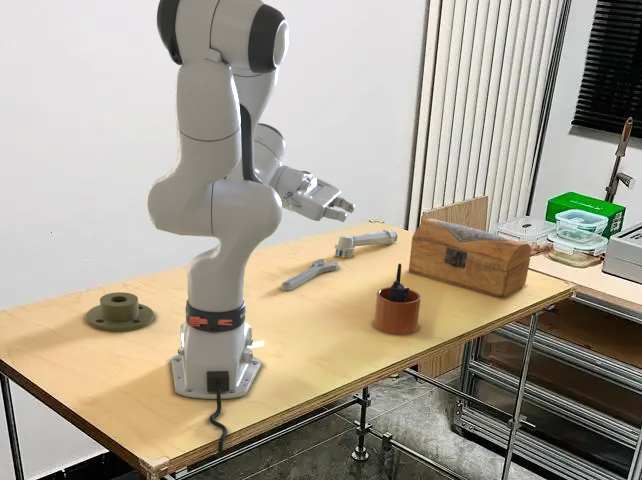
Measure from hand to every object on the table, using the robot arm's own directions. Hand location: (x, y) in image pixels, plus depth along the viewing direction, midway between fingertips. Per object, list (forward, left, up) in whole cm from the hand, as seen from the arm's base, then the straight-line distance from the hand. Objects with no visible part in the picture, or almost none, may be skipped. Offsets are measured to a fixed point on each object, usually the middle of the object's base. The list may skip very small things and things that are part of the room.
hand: (350, 213), depth 180 cm
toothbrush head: (+57, -10, -27) cm, 64 cm away
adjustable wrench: (+32, +8, -27) cm, 43 cm away
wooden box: (+36, -37, -27) cm, 58 cm away
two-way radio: (+1, -13, -27) cm, 30 cm away
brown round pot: (+1, -13, -27) cm, 30 cm away
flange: (-1, +52, -27) cm, 59 cm away
